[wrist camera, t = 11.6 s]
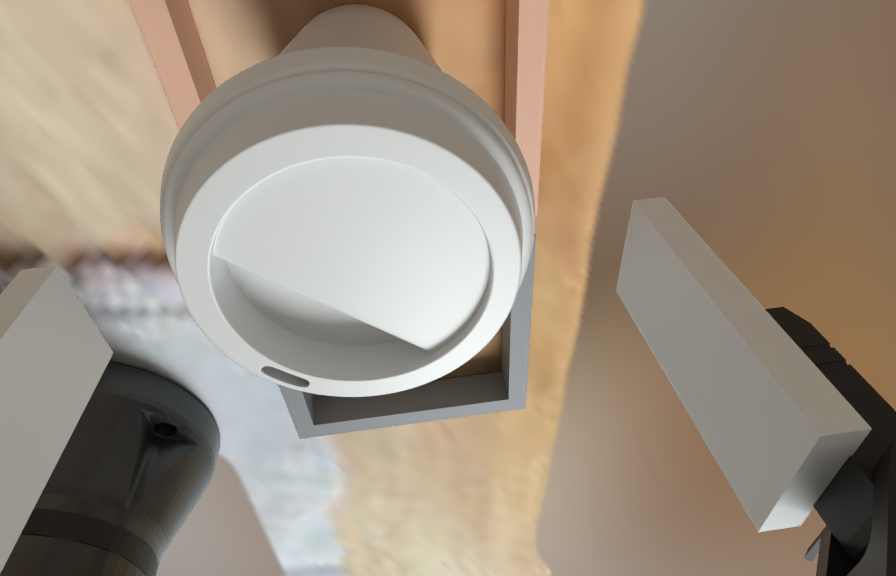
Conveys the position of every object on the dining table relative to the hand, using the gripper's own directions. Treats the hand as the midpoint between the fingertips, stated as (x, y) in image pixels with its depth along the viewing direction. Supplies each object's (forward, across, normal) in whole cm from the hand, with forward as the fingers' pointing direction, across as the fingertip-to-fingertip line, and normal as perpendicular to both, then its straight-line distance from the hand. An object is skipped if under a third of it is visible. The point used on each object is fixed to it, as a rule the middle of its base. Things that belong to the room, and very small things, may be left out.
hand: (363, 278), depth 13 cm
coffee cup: (+15, 0, 0) cm, 15 cm away
